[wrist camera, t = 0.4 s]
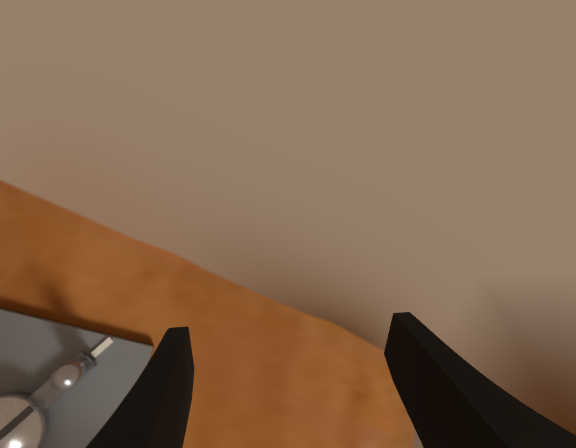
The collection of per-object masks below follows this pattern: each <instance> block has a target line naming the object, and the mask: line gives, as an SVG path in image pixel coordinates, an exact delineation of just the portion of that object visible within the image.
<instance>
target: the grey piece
mask: <svg viewBox="0 0 576 448" xmlns="http://www.w3.org/2000/svg"><path fill="white" fill-rule="evenodd" d="M96 365H97V363H96V362H95V361H94V360H93V359H92V358H91V357H90V356H89V355H88V354H87V353H86V352H85V351H82V352H81V353H79V354H78V355H77V356H76V357H75V358H74V359H72V360H71V361H69V362H68V363H66V364H65V365H63V366H62V367H60V368H59V369H57V370H56V371H54V372H53V374H52V375H51V377H50V379H49V380H48V381H47V382H46V383H45V384H43V385H42V386H41V387H40V388H39V389H38V390H36V391H35V392H34V393H33V394H32V395H31V394H29V393H25V392H8V393H3V394H1V395H0V448H39V447H40V446H41V444H42V443H43V441H44V439H45V437H46V435H47V432H48V427H49V416H48V412H47V409H48V408H49V407H50V406H51V405H52V404H53V403H54V402H56V401H57V400H58V399H59V398H60V397H61V396H62V395H63V394H65V393H66V392H67V391H68V390H69V389H70V388H71V387H72V386H74V385H75V384H76V383H77V382H78V381H79V380H80V379H81V378H83V377H84V376H85V375H86V374H87V373H88V372H89V371H90V370H92V369H93V368H94V367H95V366H96Z"/></svg>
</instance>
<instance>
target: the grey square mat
mask: <svg viewBox="0 0 576 448" xmlns="http://www.w3.org/2000/svg"><path fill="white" fill-rule="evenodd" d="M153 347H154V345H150V344H146V343H141V342H137V341H133V340H129V339H125V338H121V337H117V336H113V335H109V334H105V333H101V332H97V331H93V330H88V329H84V328H80V327H76V326H72V325H68V324H64V323H60V322H56V321H52V320H48V319H44V318H40V317H35V316H31V315H27V314H23V313H19V312H15V311H11V310H7V309H3V308H0V395H1V394H3V393H8V392H25V393H29V394H31V395H32V394H33V393H34V392H35V391H36V390H38V389H39V388H40V387H41V386H42V385H43V384H45V383H46V382H47V381H48V380H49V379H50V377H51V375H52V374H53V372H54V371H56V370H57V369H59V368H60V367H62V366H63V365H65V364H66V363H68V362H69V361H71V360H72V359H74V358H75V357H76V356H77V355H78V354H79V353H81V352H82V351H85V352H86V353H87V354H88V355H89V356H90V357H91V358H92V359H93V360H94V361H95V362H96V363H97V365H96V366H95V367H94V368H93V369H92V370H90V371H89V372H88V373H87V374H86V375H85V376H84V377H83V378H81V379H80V380H79V381H78V382H77V383H76V384H75V385H74V386H72V387H71V388H70V389H69V390H68V391H67V392H66V393H65V394H63V395H62V396H61V397H60V398H59V399H58V400H57V401H56V402H54V403H53V404H52V405H51V406H50V407H49V408H48V409H47V412H48V416H49V427H48V432H47V435H46V437H45V439H44V441H43V443H42V444H41V446H40V447H39V448H85V447H86V446H87V445H88V444H89V443H90V441H91V440H92V439H93V438H94V437H95V435H96V434H97V433H98V432H99V431H100V429H101V428H102V427H103V426H104V424H105V423H106V422H107V421H108V419H109V418H110V417H111V415H112V414H113V413H114V412H115V410H116V409H117V407H118V406H119V405H120V403H121V402H122V401H123V399H124V398H125V396H126V395H127V394H128V392H129V391H130V390H131V388H132V387H133V385H134V384H135V382H136V381H137V379H138V378H139V376H140V375H141V373H142V372H143V370H144V368H145V367H146V365H147V364H148V361H149V358H150V355H151V353H152V350H153Z"/></svg>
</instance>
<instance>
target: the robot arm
mask: <svg viewBox="0 0 576 448" xmlns="http://www.w3.org/2000/svg"><path fill="white" fill-rule="evenodd" d="M384 355H385V358H386V361H387V364H388V367H389V370H390V373H391V376H392V379H393V382H394V384H395V386H396V389H397V391H398V393H399V395H400V397H401V400H402V402H403V404H404V406H405V408H406V410H407V413H408V415H409V417H410V419H411V421H412V423H413V425H414V428H415V430H416V432H417V434H418V436H419V438H420V440H421V442H422V444H423V447H424V448H576V435H574V434H572V433H571V432H569V431H567V430H565V429H563V428H562V427H560V426H558V425H557V424H555V423H554V422H552V421H550V420H548V419H547V418H545V417H544V416H542V415H540V414H539V413H537V412H536V411H534V410H533V409H531V408H529V407H528V406H526V405H525V404H523V403H522V402H520V401H519V400H517V399H516V398H515V397H513V396H512V395H510V394H509V393H507V392H506V391H504V390H503V389H501V388H500V387H499V386H497V385H496V384H494V383H493V382H492V381H490V380H489V379H488V378H486V377H485V376H484V375H483V374H481V373H480V372H479V371H478V370H476V369H475V368H474V367H472V366H471V365H470V364H469V363H468V362H466V361H465V360H464V359H463V358H461V357H460V356H459V355H458V354H457V353H455V352H454V351H453V350H452V349H451V348H450V347H448V346H447V345H446V344H445V343H444V342H443V341H441V340H440V339H439V338H438V337H437V336H436V335H435V334H434V333H433V332H431V331H430V330H429V329H428V328H427V327H426V326H425V325H424V324H422V323H421V322H420V321H419V320H418V319H417V318H416V317H414V316H413V315H412V314H411V313H410V312H404V313H393V317H392V321H391V326H390V330H389V334H388V339H387V343H386V347H385V352H384ZM193 379H194V363H193V356H192V349H191V342H190V335H189V328H188V327H176V328H169V329H168V330H167V331H166V333H165V335H164V337H163V338H162V340H161V342H160V344H159V346H158V347H157V349H156V351H155V352H154V354H153V356H152V357H151V359H150V361H149V362H148V364H147V365H146V367H145V368H144V370H143V372H142V373H141V375H140V376H139V378H138V379H137V381H136V382H135V384H134V385H133V387H132V388H131V390H130V391H129V392H128V394H127V395H126V396H125V398H124V399H123V401H122V402H121V403H120V405H119V406H118V407H117V409H116V410H115V412H114V413H113V414H112V415H111V417H110V418H109V419H108V421H107V422H106V423H105V424H104V426H103V427H102V428H101V429H100V431H99V432H98V433H97V434H96V435H95V437H94V438H93V439H92V440H91V441H90V443H89V444H88V445H87V446H86V447H85V448H182V447H183V442H184V437H185V432H186V427H187V422H188V416H189V411H190V406H191V400H192V390H193Z"/></svg>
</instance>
